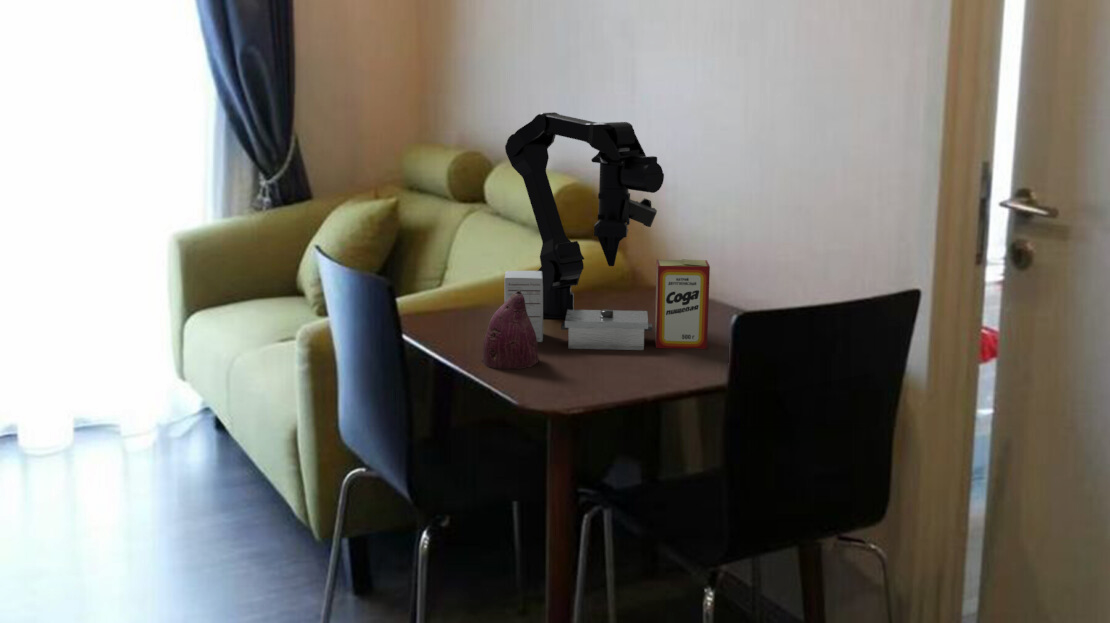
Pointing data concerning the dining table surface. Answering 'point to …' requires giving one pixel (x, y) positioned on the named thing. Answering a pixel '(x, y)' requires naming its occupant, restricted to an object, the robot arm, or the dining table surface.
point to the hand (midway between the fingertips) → (611, 265)
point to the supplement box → (528, 295)
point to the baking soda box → (682, 304)
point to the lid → (606, 319)
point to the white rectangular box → (606, 338)
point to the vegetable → (510, 337)
